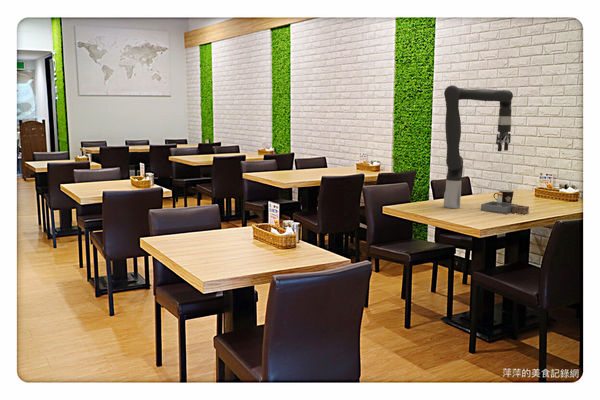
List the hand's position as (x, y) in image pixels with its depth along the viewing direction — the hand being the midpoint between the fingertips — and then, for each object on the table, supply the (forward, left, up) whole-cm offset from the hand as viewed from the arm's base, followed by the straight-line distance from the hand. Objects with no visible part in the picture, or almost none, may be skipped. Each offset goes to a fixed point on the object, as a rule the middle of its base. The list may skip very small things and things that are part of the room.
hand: (502, 150), depth 333 cm
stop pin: (+2, -4, -35) cm, 36 cm away
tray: (+2, -4, -36) cm, 36 cm away
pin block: (+14, -3, -36) cm, 39 cm away
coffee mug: (-3, +12, -36) cm, 38 cm away
